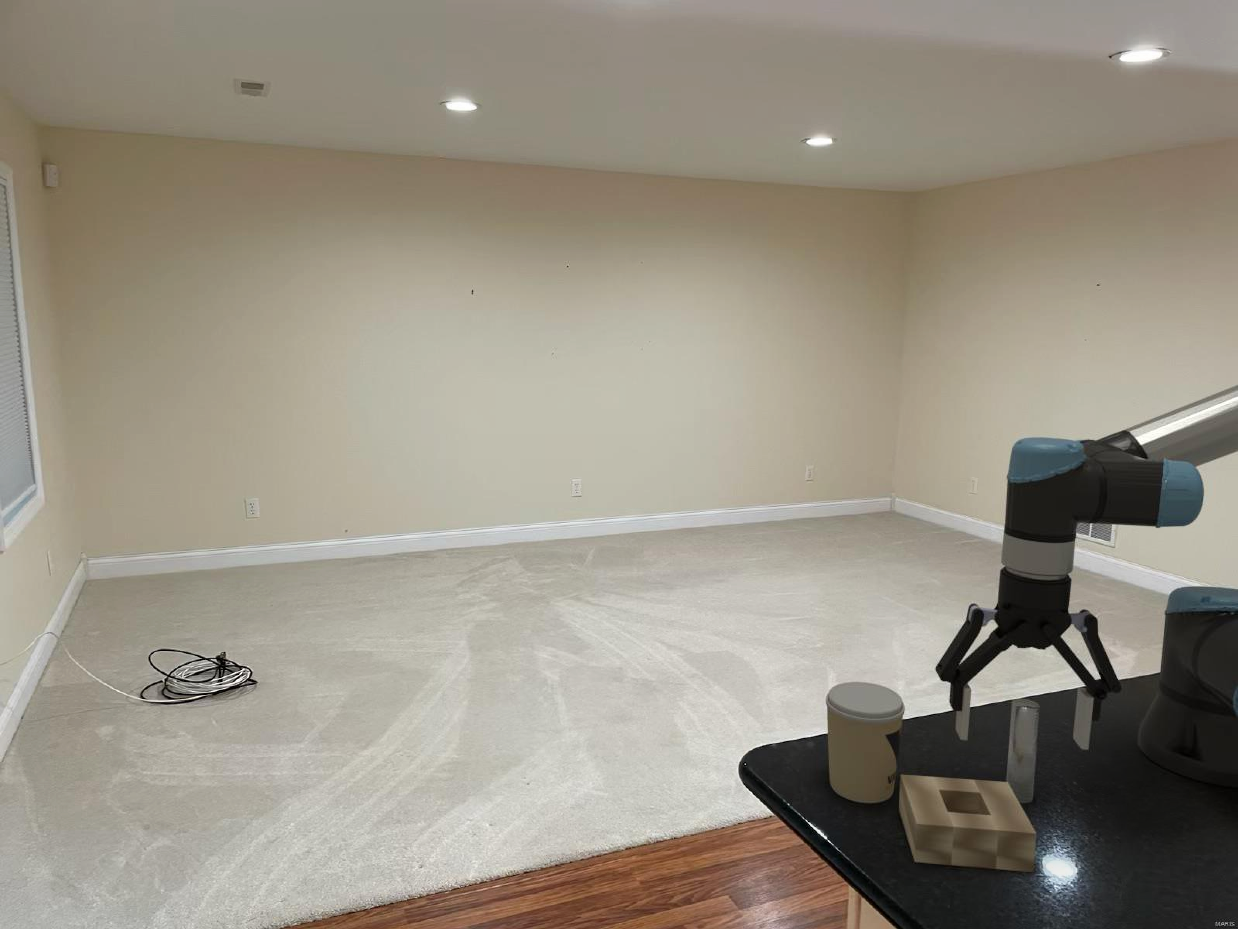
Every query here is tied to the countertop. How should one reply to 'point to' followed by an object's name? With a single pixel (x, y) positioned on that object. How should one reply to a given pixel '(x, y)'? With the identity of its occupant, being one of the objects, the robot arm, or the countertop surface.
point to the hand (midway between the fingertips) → (1020, 739)
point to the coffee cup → (863, 740)
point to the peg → (1023, 748)
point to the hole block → (966, 823)
